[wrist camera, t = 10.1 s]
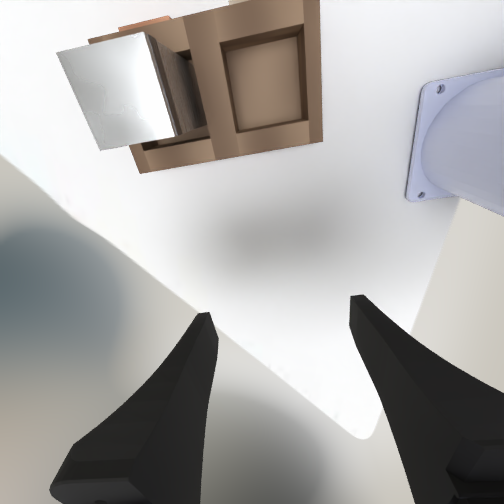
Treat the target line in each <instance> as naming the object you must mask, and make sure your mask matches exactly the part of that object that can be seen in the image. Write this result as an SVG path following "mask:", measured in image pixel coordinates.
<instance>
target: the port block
mask: <svg viewBox="0 0 504 504" xmlns="http://www.w3.org/2000/svg"><path fill="white" fill-rule="evenodd" d="M118 29H119V32H116V33H112V34H108V35H104V36H100V37H95V38H91V39H88V42H89V44H94V43H99V42H103V41H107V40H111V39H115V38H119V37H124V36H128V35H132V34H136V33H140V32H145V33H146V34H149V35H151V36H152V37H154V38H155V39H156V40H157V41H158V42H160V43H161V44H163V45H164V46H166V47H167V48H169V49H170V50H172V51H173V52H175V53H176V54H178V55H179V56H181V57H182V58H184V59H186V60H187V61H189V62H190V63H192V64H193V65H194V69H195V73H196V77H197V82H198V86H199V90H200V95H201V99H202V103H203V108H204V112H205V116H206V120H207V125H205V126H202V127H200V128H197V129H194V130H191V131H188V132H186V133H183V134H182V135H179V136H174V137H169V138H164V139H159V140H154V141H148V142H143V143H138V144H133V145H129V147H130V150H131V152H132V155H133V157H134V160H135V162H136V165H137V168H138V170H139V173H140V174H142V173H148V172H154V171H159V170H165V169H170V168H176V167H182V166H187V165H193V164H199V163H204V162H210V161H216V160H221V159H227V158H233V157H238V156H244V155H249V154H255V153H261V152H266V151H272V150H278V149H283V148H289V147H295V146H300V145H306V144H312V143H317V142H323V129H322V85H321V41H320V0H230V1H229V5H228V6H224V7H220V8H216V9H211V10H207V11H203V12H199V13H195V14H191V15H187V16H182V17H178V18H174V19H171V18H170V17H169V16H164V17H160V18H156V19H152V20H148V21H143V22H139V23H135V24H131V25H127V26H123V27H119V28H118Z"/></svg>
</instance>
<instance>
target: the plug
mask: <svg viewBox="0 0 504 504" xmlns="http://www.w3.org/2000/svg"><path fill="white" fill-rule="evenodd" d="M56 54H57V56H58V58H59V60H60V62H61V65H62V67H63V69H64V71H65V74H66V76H67V78H68V80H69V83H70V85H71V87H72V89H73V91H74V94H75V96H76V98H77V100H78V103H79V105H80V107H81V109H82V111H83V114H84V116H85V118H86V120H87V123H88V125H89V127H90V129H91V132H92V134H93V136H94V138H95V140H96V143H97V145H98V147H99V149H100V151H101V150H106V149H112V148H117V147H122V146H127V145H133V144H138V143H143V142H148V141H154V140H159V139H164V138H169V137H174V136H179V135H182V134H183V133H186V132H188V131H191V130H194V129H197V128H200V127H202V126H205V125H207V120H206V116H205V112H204V108H203V103H202V99H201V95H200V90H199V86H198V82H197V77H196V73H195V69H194V65H193V64H192V63H190V62H189V61H187V60H186V59H184V58H182V57H181V56H179V55H178V54H176V53H175V52H173V51H172V50H170V49H169V48H167V47H166V46H164V45H163V44H161V43H160V42H158V41H157V40H156V39H155V38H154V37H152V36H151V35H149V34H146V33H145V32H140V33H136V34H132V35H128V36H124V37H119V38H115V39H111V40H107V41H103V42H99V43H94V44H90V45H86V46H82V47H78V48H74V49H69V50H65V51H61V52H57V53H56Z"/></svg>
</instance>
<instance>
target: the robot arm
mask: <svg viewBox="0 0 504 504" xmlns="http://www.w3.org/2000/svg"><path fill="white" fill-rule="evenodd" d="M439 85H441V91H440V92H439V93H437V91H436V90H437V87H438V86H439ZM421 192H422V195H421V196H419V197H418V195H419V193H421ZM451 196H459V197H461V198H463V199H466V200H468V201H470V202H472V203H475V204H477V205H479V206H481V207H484V208H486V209H488V210H490V211H493V212H495V213H497V214H499V215H502V216H504V68H500V69H495V70H490V71H485V72H479V73H474V74H469V75H464V76H459V77H453V78H448V79H443V80H438V81H433V82H429V83H427V84H426V85H425V86H424V87H423V89H422V92H421V98H420V104H419V111H418V118H417V125H416V131H415V138H414V145H413V152H412V158H411V165H410V172H409V178H408V185H407V192H406V199H407V200H408V201H410V202H417V201H424V200H431V199H438V198H445V197H451ZM349 326H350V329H351V332H352V335H353V338H354V341H355V344H356V347H357V349H358V351H359V353H360V355H361V358H362V360H363V362H364V364H365V366H366V368H367V371H368V373H369V375H370V377H371V379H372V381H373V383H374V386H375V388H376V390H377V392H378V395H379V397H380V399H381V402H382V405H383V408H384V411H385V413H386V416H387V419H388V422H389V424H390V427H391V430H392V433H393V436H394V439H395V442H396V445H397V448H398V451H399V454H400V457H401V460H402V463H403V466H404V469H405V472H406V475H407V479H408V482H409V485H410V489H411V492H412V495H413V498H414V502H415V504H504V393H502V392H501V391H499V390H497V389H495V388H493V387H491V386H489V385H487V384H485V383H483V382H482V381H480V380H478V379H476V378H474V377H472V376H471V375H469V374H468V373H466V372H464V371H462V370H461V369H459V368H457V367H455V366H454V365H452V364H451V363H449V362H448V361H446V360H444V359H443V358H441V357H440V356H438V355H437V354H435V353H434V352H432V351H431V350H429V349H428V348H426V347H425V346H424V345H422V344H421V343H420V342H418V341H417V340H416V339H414V338H413V337H412V336H410V335H409V334H408V333H407V332H405V331H404V330H403V329H402V328H400V327H399V326H398V325H397V324H396V323H394V322H393V321H392V320H391V319H390V318H389V317H387V316H386V315H385V314H384V313H383V312H382V311H381V310H380V309H379V308H377V307H376V306H375V305H374V304H373V303H372V302H371V301H370V300H369V299H368V298H367V297H366V296H364V295H355V296H350V320H349ZM218 339H219V338H218V336H217V333H216V330H215V327H214V324H213V321H212V318H211V315H210V312H205V313H198V314H197V316H196V317H195V318H194V320H193V321H192V323H191V324H190V326H189V327H188V329H187V330H186V332H185V333H184V335H183V336H182V338H181V339H180V340H179V342H178V343H177V344H176V346H175V347H174V349H173V350H172V351H171V353H170V354H169V355H168V357H167V358H166V359H165V360H164V361H163V363H162V364H161V365H160V366H159V368H158V369H157V370H156V371H155V372H154V373H153V375H152V376H151V377H150V378H149V379H148V380H147V381H146V382H145V383H144V384H143V385H142V386H141V387H140V388H139V389H138V390H137V391H136V392H135V393H134V394H133V395H132V396H131V397H130V398H129V399H128V400H127V401H126V402H125V403H124V404H123V405H122V406H120V407H119V408H118V409H117V410H116V411H115V412H114V413H112V414H111V415H110V416H109V417H108V418H107V419H105V420H104V421H103V422H102V423H100V424H99V425H98V426H97V427H96V428H94V429H93V430H92V431H90V432H89V433H88V434H86V435H85V436H84V437H83V438H82V439H80V440H79V441H77V442H76V443H75V444H73V446H72V448H71V449H70V451H69V453H68V455H67V456H66V458H65V460H64V462H63V464H62V466H61V467H60V469H59V471H58V473H57V475H56V477H55V478H54V480H53V482H52V484H51V486H50V489H49V490H50V493H51V495H52V496H53V497H54V498H55V499H56V500H58V501H59V502H61V503H63V504H200V495H201V477H202V462H203V449H204V438H205V427H206V418H207V409H208V403H209V397H210V392H211V387H212V382H213V377H214V372H215V367H216V361H217V354H218Z"/></svg>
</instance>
